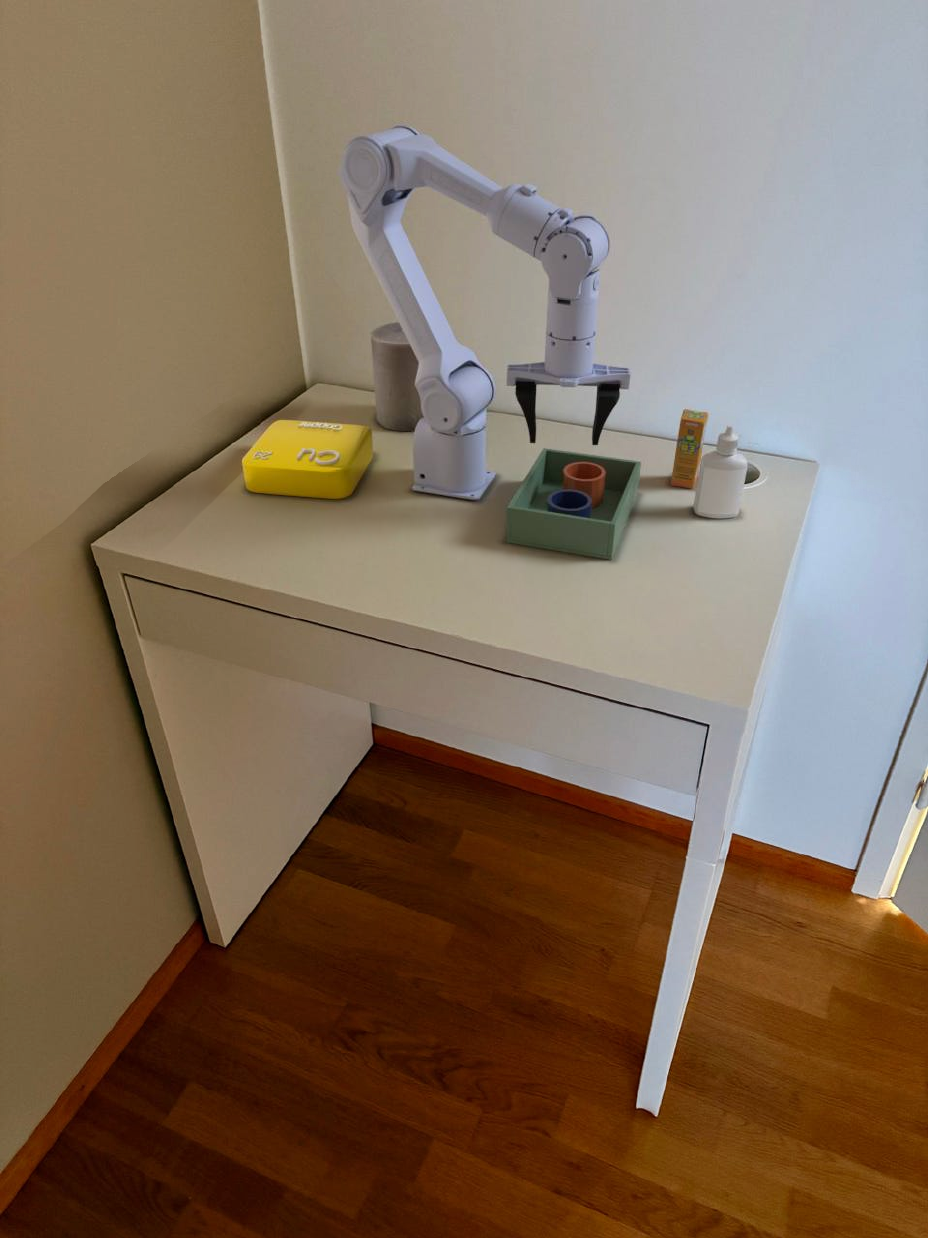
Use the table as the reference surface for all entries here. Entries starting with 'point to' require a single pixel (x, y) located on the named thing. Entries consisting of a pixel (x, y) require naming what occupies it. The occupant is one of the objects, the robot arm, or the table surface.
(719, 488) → the eye dropper bottle
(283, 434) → the element tile
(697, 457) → the supplement box
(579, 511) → the navy cup
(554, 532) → the sage tub
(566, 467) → the terracotta cup
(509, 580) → the table surface
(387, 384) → the pillar candle
